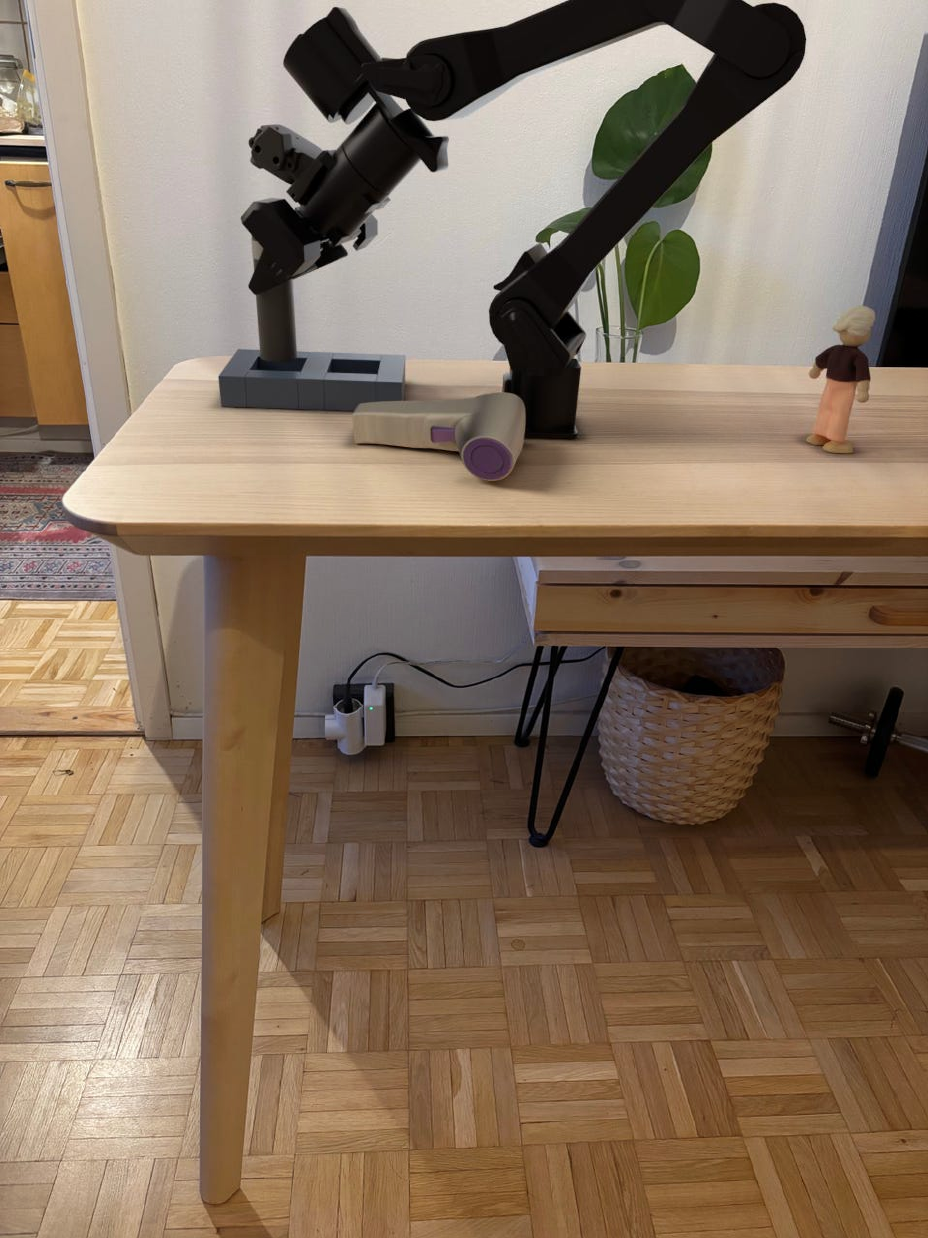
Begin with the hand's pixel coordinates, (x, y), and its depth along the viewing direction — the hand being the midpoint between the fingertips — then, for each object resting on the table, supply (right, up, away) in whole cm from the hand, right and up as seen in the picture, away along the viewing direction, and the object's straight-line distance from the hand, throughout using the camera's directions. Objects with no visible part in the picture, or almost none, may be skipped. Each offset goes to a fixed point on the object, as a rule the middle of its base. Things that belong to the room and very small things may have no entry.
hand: (261, 287), depth 89 cm
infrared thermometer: (+17, -18, -9) cm, 26 cm away
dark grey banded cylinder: (+1, -6, +3) cm, 7 cm away
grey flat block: (+5, -9, +5) cm, 11 cm away
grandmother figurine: (+54, -16, -2) cm, 56 cm away
